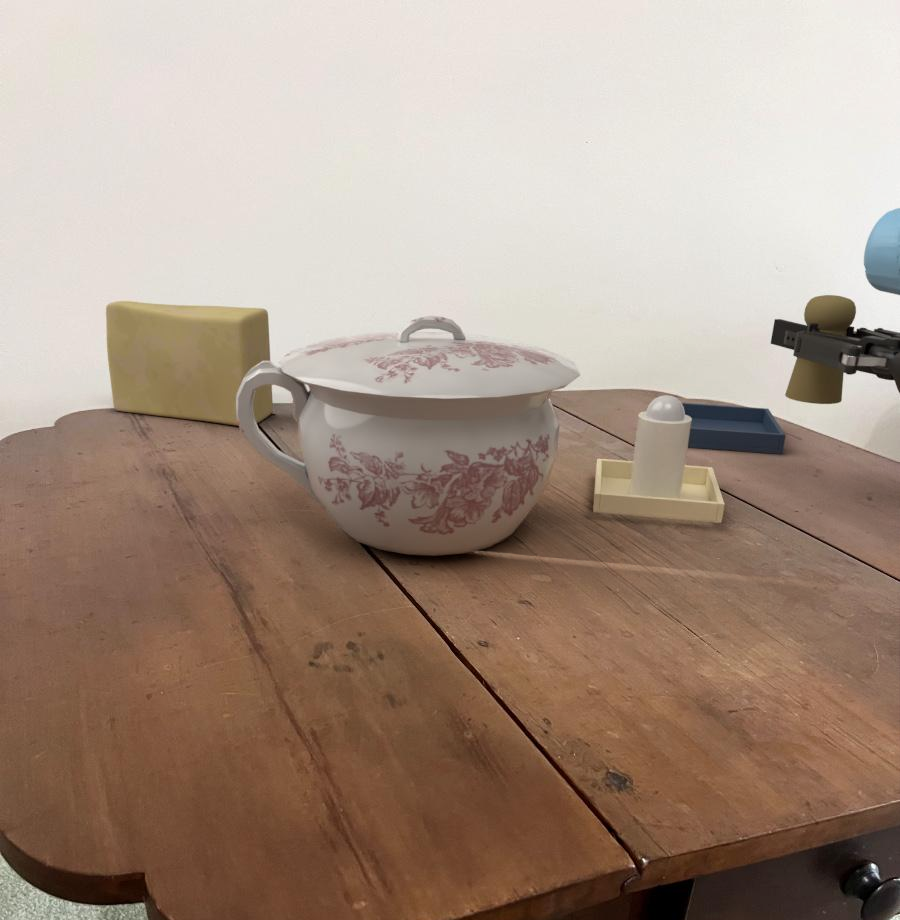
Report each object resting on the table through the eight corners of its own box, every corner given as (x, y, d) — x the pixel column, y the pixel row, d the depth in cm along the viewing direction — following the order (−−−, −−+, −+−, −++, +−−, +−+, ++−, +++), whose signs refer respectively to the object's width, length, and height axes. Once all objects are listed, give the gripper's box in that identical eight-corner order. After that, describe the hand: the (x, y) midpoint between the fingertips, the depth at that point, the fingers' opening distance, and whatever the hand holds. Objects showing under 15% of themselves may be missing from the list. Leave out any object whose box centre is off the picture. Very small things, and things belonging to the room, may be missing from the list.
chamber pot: (611, 523, 95) (634, 315, 86) (470, 617, 74) (482, 356, 65) (393, 472, 109) (394, 288, 100) (222, 539, 88) (204, 314, 79)
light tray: (709, 488, 107) (712, 467, 106) (720, 527, 95) (724, 504, 94) (594, 479, 108) (597, 458, 107) (592, 517, 97) (594, 493, 96)
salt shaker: (678, 491, 104) (692, 392, 99) (681, 507, 99) (697, 403, 94) (628, 487, 104) (640, 388, 100) (629, 503, 99) (641, 399, 94)
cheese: (98, 418, 127) (83, 304, 120) (132, 402, 135) (119, 296, 129) (251, 430, 123) (243, 314, 117) (275, 413, 132) (270, 304, 126)
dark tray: (765, 426, 135) (768, 408, 134) (782, 454, 121) (785, 435, 120) (660, 418, 137) (662, 401, 136) (665, 445, 123) (667, 426, 122)
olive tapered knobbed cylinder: (806, 405, 100) (826, 300, 96) (774, 392, 106) (792, 292, 101) (853, 402, 102) (875, 299, 97) (819, 390, 107) (839, 292, 102)
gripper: (874, 416, 85) (724, 366, 104) (1013, 406, 90) (845, 361, 110) (893, 332, 81) (735, 298, 101) (1036, 327, 87) (859, 295, 107)
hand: (792, 330), depth 105 cm, fingers closed on olive tapered knobbed cylinder, 4 cm apart
